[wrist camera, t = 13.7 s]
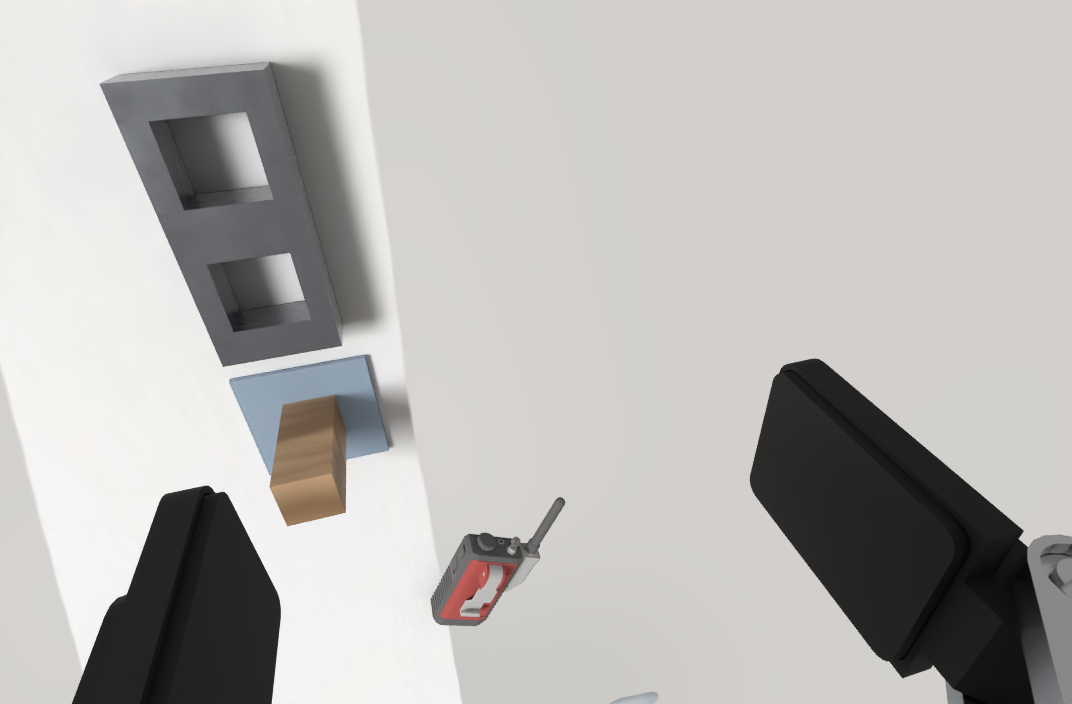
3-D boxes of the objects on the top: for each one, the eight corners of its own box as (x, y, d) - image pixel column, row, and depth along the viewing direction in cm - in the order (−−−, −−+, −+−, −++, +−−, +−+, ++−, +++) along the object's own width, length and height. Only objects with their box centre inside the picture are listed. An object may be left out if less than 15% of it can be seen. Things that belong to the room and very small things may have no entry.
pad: (229, 379, 44) (228, 382, 43) (364, 354, 46) (364, 357, 45) (270, 472, 49) (269, 475, 49) (388, 447, 51) (388, 450, 51)
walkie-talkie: (492, 609, 69) (567, 490, 61) (500, 644, 66) (580, 523, 58) (423, 605, 66) (492, 479, 57) (427, 642, 62) (501, 512, 54)
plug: (282, 404, 46) (269, 487, 39) (334, 394, 46) (331, 473, 39) (297, 441, 48) (287, 526, 41) (346, 431, 49) (345, 512, 42)
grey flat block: (118, 74, 32) (99, 83, 30) (269, 62, 34) (263, 69, 31) (230, 343, 42) (222, 366, 40) (342, 324, 44) (342, 345, 41)
